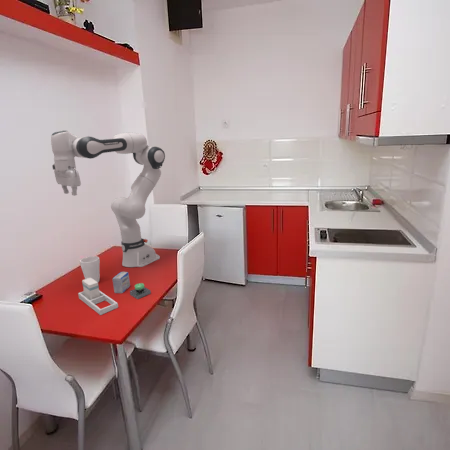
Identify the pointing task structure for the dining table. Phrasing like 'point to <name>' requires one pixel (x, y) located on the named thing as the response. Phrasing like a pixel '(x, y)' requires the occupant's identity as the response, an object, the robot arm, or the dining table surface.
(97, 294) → the seated billet
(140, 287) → the button
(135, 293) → the grey button housing
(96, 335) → the dining table surface
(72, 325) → the dining table surface
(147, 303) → the dining table surface
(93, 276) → the foam cup
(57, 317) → the dining table surface
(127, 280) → the medicine box
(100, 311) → the white rectangular tray
